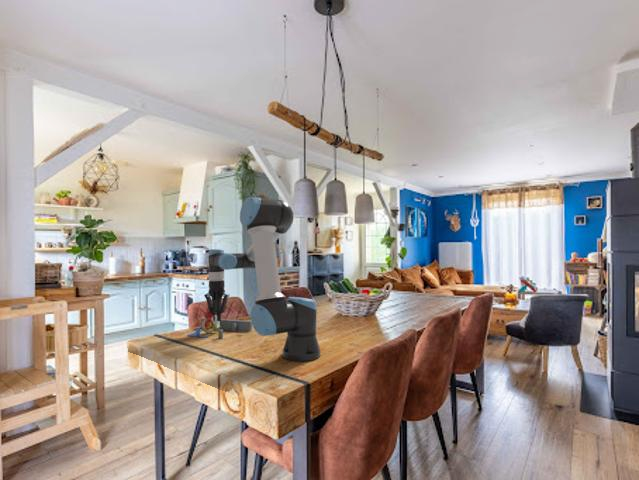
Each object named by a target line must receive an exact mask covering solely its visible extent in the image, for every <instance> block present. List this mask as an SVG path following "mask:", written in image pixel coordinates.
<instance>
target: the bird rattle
mask: <svg viewBox="0 0 639 480" xmlns="http://www.w3.org/2000/svg"><path fill="white" fill-rule="evenodd" d="M203 316H204V318H205V319H204V320H203V321H202V324H201V323H200V328H201V327H202V328H201V329H203V332H205V333H206V334H207V335H208V334H210V333H212V332H213V331H216V332H218V329H220V328H221V326H220V327H218V328H215V322H214V320H213V314H212V313H210V312H209V311H207V312H204V314H203ZM207 321H208V322H207ZM205 322H206V323H205ZM210 322H211V323H210ZM214 329H215V330H214Z"/></svg>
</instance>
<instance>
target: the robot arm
mask: <svg viewBox="0 0 639 480" xmlns="http://www.w3.org/2000/svg"><path fill="white" fill-rule="evenodd" d="M239 211H240V212H239V221H240V224H241V225H242V226H244V227H246V230H247V233H248V234H249V235H250V236H251V241H252V244H251V246H250V247H249V248H248V249H246V250H247V251H246V252H244V253H243V252H242V253H241V252H240V253H236V252H235V253H233V252H231V253H230V252H229V253H227V252H226V253H225V250H224V249H223V248H219V249H218V248H215V249H211V248H210V249H209V250H208V257H207V258H208V280H209V281H208V292H207V293H205V294H204V295H203V296H204V298H205V300H206V304H207V309H208V312H210V313H212V314H213V317H212V319H213V320H214V321H215V328H218V327H220V321H221V319H222V314H224V313H226V307H227V304H228V299H229V297H230V294H229V293H227V292H226V290H225V271H227V270H236V269H237V270H238V269H255V275H256V276H255V277H256V285H257V293H258V296H257V297H256V299H255V301H254V302H255V304H254V305H253V306H252V307H251V310H250V314H249V315H250V321H251V322H252V328H253V329H254V331H255V332H256V334H258V335H259V336H262V337H268V336H274V335H280V334H287V336H286V339H285V343H284V345H283V347H282V357H283V358H285V359H286V360H289V361H293V362H294V361H295V362H308V361H313V360H317V359H319V358H320V357H321V348H320V345H319V342H318V339H317V311H318V308H317V302H316V300H314V299H312V298H306V297H299V296H298V297H297V296H289V297H286V295H285V294H283V293H282V291H281V284H280V283H281V282H280V275H279V266H278V260H277V252H276V251H277V250H276V245H275V242H276V241H277V240H278V239H279V238H280V236H282V235H283V234H286V233H287V232H288V231H289V229H290V228H291V226H292V224H293V223H294V212H293V209H292V207H291V206H290V205H289V203H287V202H286V201H284V200H281V199H273V198H264V197H259V196H257V197H251V196H250V197H247V198H246V199H244V201H243V203H242V205H241V207H240V210H239ZM286 298H288V300H287V301H288V302H286Z"/></svg>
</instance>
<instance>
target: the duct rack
mask: <svg viewBox="0 0 639 480" xmlns="http://www.w3.org/2000/svg"><path fill="white" fill-rule="evenodd" d="M205 318H206V317H202V318H200V325H201V324H202V321H203V320H204V319H205ZM207 322H208V321H207ZM214 322H215V321H214ZM205 323H206V322H205ZM210 323H211V322H210ZM220 326H221V328H220V329H218V331H217V332H218V334H217V335H218V337H217V339H219V340H222V339H224V331H231V332H233V333H235V332H249V333H250V332H252V328H253V325H252V322H251V320H243V319H242V320H239V319H227V318H226V319H225V318H224V319H223V318H221V321H220ZM202 331H203V329H202V327H201V326H200V327H196V328H195V331H194V332H191V333H189V334H187V337H196V338H209V337H210V336H209V335H205V334H204V335H202V334H201V332H202ZM213 331H215V329H214V330H213ZM203 332H204V331H203Z"/></svg>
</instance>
